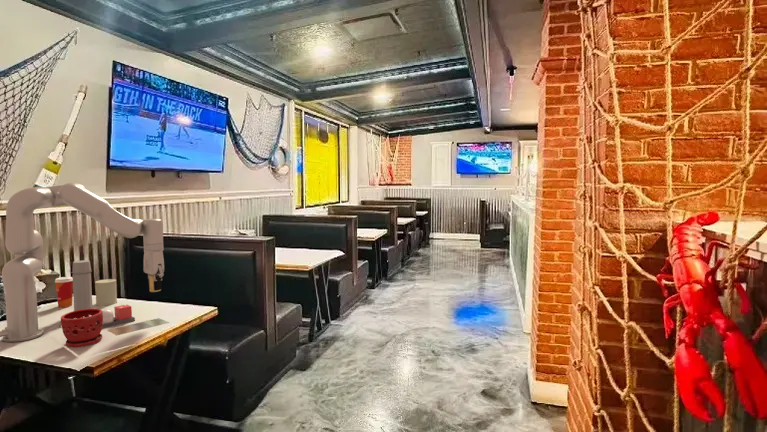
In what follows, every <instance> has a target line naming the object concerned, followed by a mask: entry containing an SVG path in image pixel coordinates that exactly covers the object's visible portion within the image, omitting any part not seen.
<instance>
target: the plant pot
mask: <svg viewBox="0 0 767 432" xmlns="http://www.w3.org/2000/svg"><path fill="white" fill-rule="evenodd" d="M102 311H103V310H102V309H100V308H92V309H82V310H77V311H74V310H73V311H70V312H67V313H64V314H62V315H61V317H60V324H61V330H62V333H63V335H64V337H65V338H66V340H65V344H66V346H67V347H70V348H81V347H87V346H91V345H94V344H97V343H99V342H100V341H101V340H102V338H103V334H102V333H101V332H102V330H103V328H102V326H103V313H102ZM96 322H97V324H96Z"/></svg>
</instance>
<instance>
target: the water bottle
mask: <svg viewBox="0 0 767 432" xmlns="http://www.w3.org/2000/svg"><path fill="white" fill-rule="evenodd" d="M70 273H71V274H72V278H73V297H72V298H73V311H77V310H82V309H93V294H92V292H93V291H92V290H93V289H92V288H93V287H92V286H93V285H92V267H91V260H88V259H85V260H83V259H82V260H75V261H73V262H72V269H71V272H70Z"/></svg>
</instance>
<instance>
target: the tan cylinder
mask: <svg viewBox="0 0 767 432" xmlns="http://www.w3.org/2000/svg"><path fill="white" fill-rule="evenodd" d="M157 276H158V275H156V277H157ZM154 281H155V280H154V275H149V286H150V289H149V292H150V293H157V292H161V291H162V289H161V290H156V291H155V290H154ZM149 286H148V287H149Z"/></svg>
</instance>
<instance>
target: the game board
mask: <svg viewBox="0 0 767 432" xmlns="http://www.w3.org/2000/svg"><path fill="white" fill-rule="evenodd" d="M169 323H170V322H169V321H167V320H165V319H162V318H159V317H157V318H154V319H149V320H145V321H141V322H135V323H132V324H131V323H130V324H128V325H123V326H119V327H115V328H110V329H107V331H108V332H110V333H112V334H113V335H115V336H120V335H123V334H128V333H132V332H136V331H140V330H144V329H149V328H153V327H157V326H162V325H165V324H169Z"/></svg>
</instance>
